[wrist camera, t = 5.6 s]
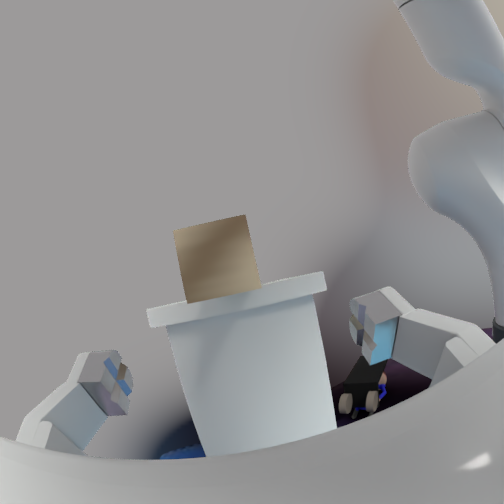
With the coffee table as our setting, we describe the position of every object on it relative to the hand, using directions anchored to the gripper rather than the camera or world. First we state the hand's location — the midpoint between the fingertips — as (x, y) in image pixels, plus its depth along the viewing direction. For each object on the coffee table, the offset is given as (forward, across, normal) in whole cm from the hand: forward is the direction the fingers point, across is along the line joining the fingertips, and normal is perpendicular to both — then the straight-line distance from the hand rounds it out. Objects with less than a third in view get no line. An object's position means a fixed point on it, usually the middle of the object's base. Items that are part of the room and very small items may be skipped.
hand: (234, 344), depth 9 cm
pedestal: (+6, 0, +32) cm, 33 cm away
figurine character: (+18, -18, +39) cm, 46 cm away
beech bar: (+14, 0, +6) cm, 15 cm away
